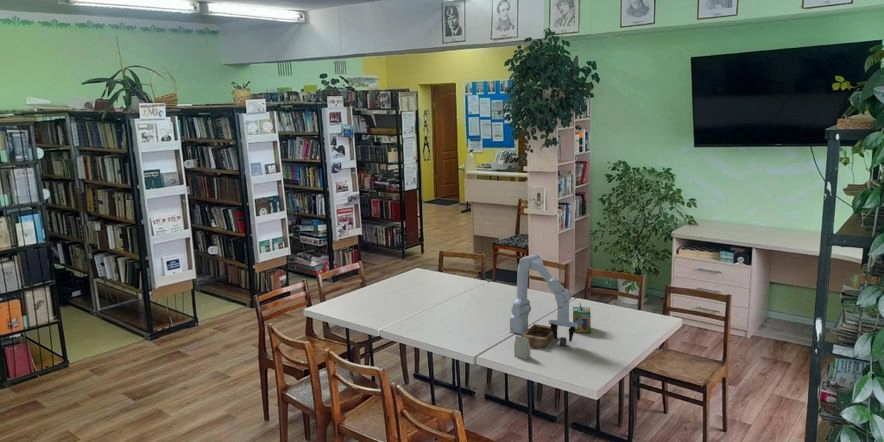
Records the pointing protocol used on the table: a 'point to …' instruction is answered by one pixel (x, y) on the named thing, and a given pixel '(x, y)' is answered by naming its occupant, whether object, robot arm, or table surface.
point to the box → (539, 336)
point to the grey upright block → (522, 347)
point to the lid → (562, 341)
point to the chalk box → (582, 319)
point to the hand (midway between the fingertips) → (563, 339)
